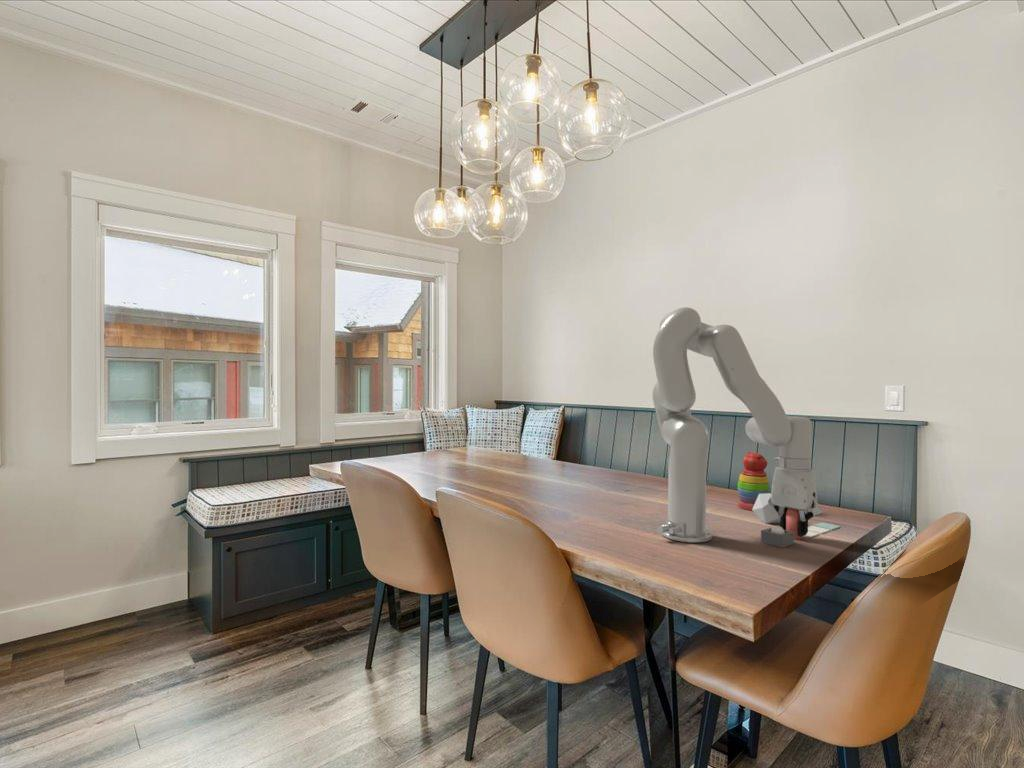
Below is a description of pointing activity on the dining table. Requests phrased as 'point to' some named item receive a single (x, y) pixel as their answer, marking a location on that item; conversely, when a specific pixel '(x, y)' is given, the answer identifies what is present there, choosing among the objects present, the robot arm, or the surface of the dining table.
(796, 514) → the pawn
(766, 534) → the grey square tray
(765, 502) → the die
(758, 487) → the stacking bear
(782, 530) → the dome
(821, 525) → the tile
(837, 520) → the dining table surface
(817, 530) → the track
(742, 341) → the robot arm
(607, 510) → the dining table surface
